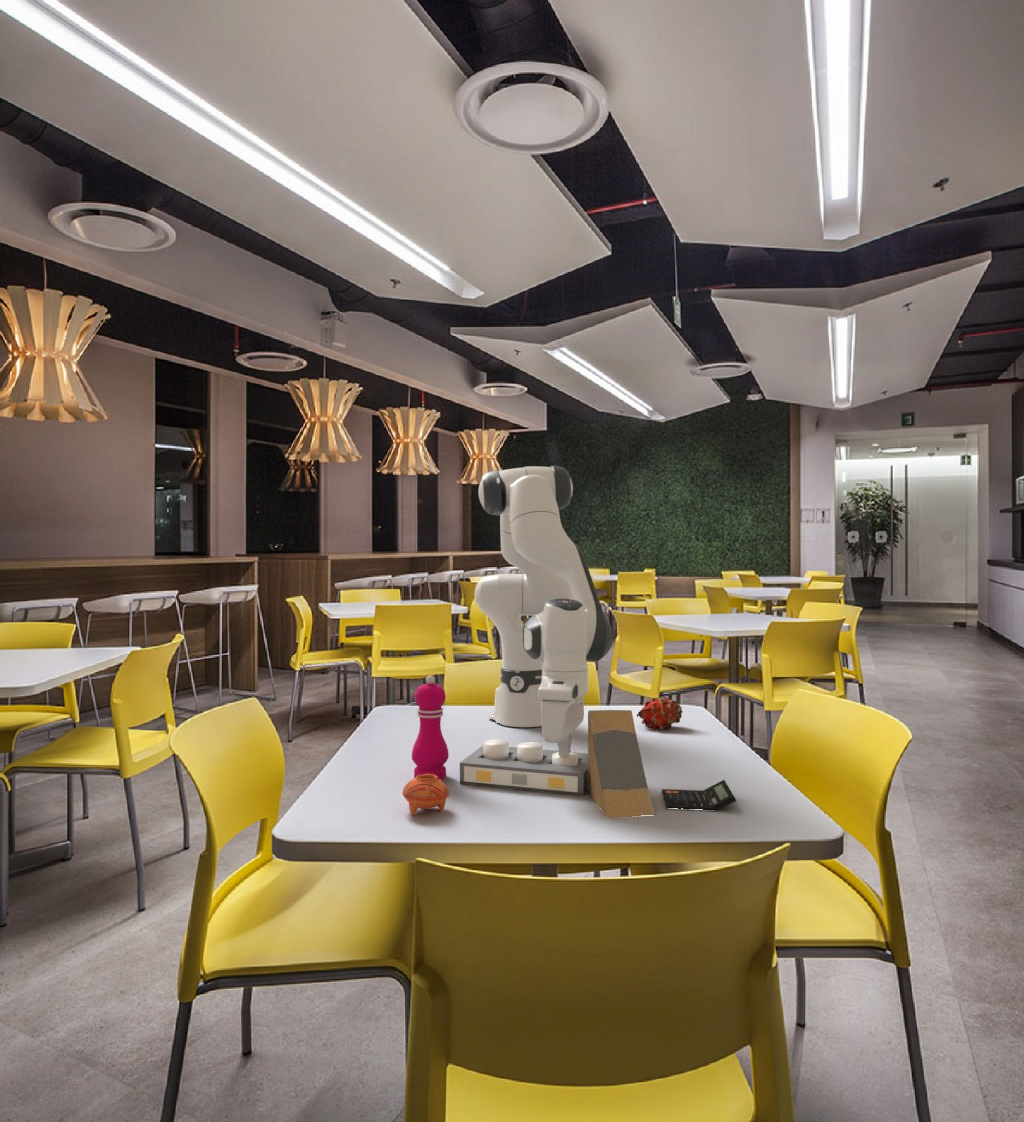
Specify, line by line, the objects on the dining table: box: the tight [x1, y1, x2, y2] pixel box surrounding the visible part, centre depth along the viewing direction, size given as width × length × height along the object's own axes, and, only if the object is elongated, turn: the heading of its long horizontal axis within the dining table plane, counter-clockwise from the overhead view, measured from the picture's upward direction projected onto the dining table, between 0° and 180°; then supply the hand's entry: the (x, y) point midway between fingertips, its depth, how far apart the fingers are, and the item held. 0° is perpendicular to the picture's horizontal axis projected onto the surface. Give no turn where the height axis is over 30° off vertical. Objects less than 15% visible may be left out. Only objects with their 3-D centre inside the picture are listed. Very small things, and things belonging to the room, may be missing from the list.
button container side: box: [552, 752, 578, 766], centre depth 141 cm, size 5×5×4 cm
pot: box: [402, 774, 450, 817], centre depth 124 cm, size 8×8×7 cm
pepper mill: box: [411, 675, 449, 781], centre depth 143 cm, size 7×7×20 cm
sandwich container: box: [587, 709, 655, 819], centre depth 129 cm, size 9×15×15 cm, turn 6°
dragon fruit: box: [636, 696, 683, 730], centre depth 186 cm, size 8×8×12 cm
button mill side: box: [483, 739, 510, 760], centre depth 145 cm, size 5×5×4 cm
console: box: [459, 744, 588, 796], centre depth 142 cm, size 14×24×4 cm, turn 73°
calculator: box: [661, 779, 737, 811], centre depth 130 cm, size 9×12×3 cm
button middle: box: [516, 741, 544, 763], centre depth 143 cm, size 5×5×4 cm
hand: (564, 755), depth 140 cm, fingers closed, pressing on button container side
